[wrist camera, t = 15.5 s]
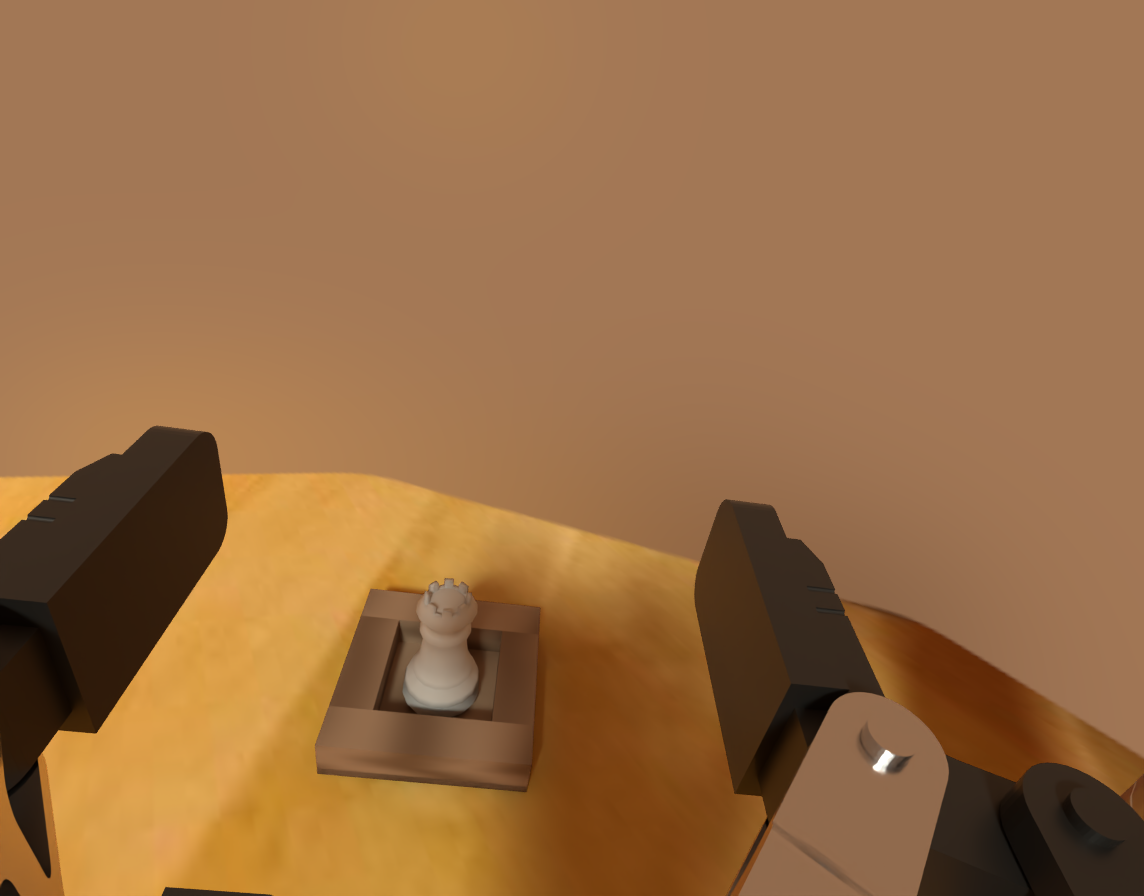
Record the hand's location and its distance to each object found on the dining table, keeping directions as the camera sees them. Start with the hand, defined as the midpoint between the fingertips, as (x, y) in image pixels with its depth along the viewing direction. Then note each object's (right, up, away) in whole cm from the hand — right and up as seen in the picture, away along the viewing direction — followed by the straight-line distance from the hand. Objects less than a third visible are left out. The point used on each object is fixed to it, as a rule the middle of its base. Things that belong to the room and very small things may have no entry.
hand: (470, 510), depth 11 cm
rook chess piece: (-6, -14, +29) cm, 33 cm away
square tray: (-6, -14, +29) cm, 33 cm away
